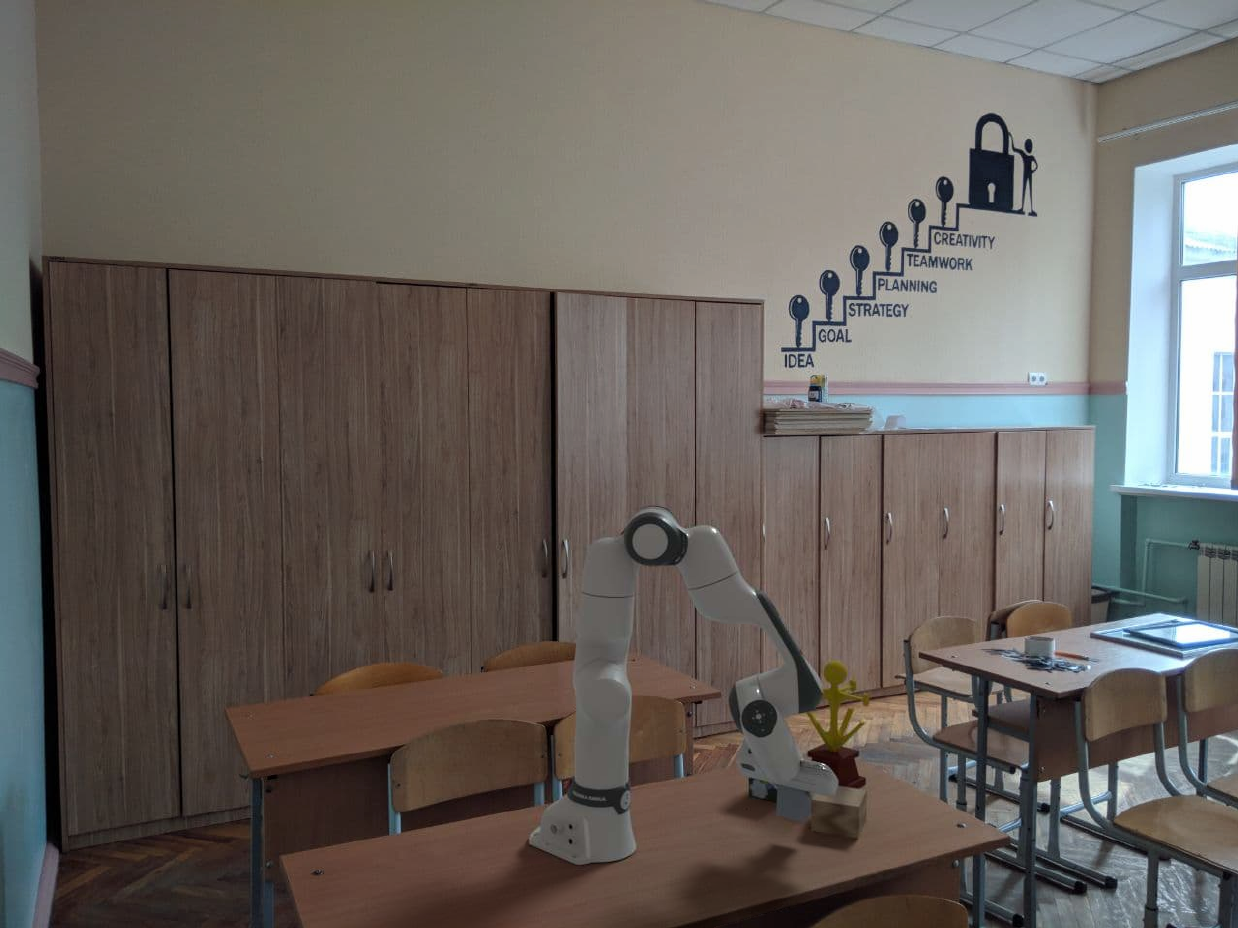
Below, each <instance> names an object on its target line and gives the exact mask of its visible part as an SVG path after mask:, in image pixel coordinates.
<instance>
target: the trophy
mask: <svg viewBox="0 0 1238 928" xmlns="http://www.w3.org/2000/svg"><path fill="white" fill-rule="evenodd" d="M823 677H824V679H825V681H826V682H827V683H829V684H830V687H828V688H825V687H823V693H824V695H823V698H822V700H826V701H827V702H828V705H829V706H828V707H829V713H830V715H829V716H830V717H829V718H830V719H829V721H830V722H829V730H828V731H827V730H825V729H824V728H823V727H822V725H821V724H820V723H819V721H818V720H817V718H816V717H815V715H814V714H813V711H810V712H805V714H806V715H807V717H808V718H809V721H811V724H812V725H813V726H814V728H815V730H816V731H817V734H819V736H820V738H821V739H822V741H823V744H821V745H819V746H816V747H813V748H812V749H810V750H807V751H806V753H807V755H806V756H807V757H808V758H811V760H810V761H814V762H819V763H822V764H825V765H827V766H828V767H829V768H830V769H831V770H832V771H833V773H834V774H835V776H836V777H837V779H838V786H843V787H850V788H856V789H861V788H862V787H864V786H866V785H867V777H865V776H862V775H859V770H858V767H857V763H856V758H858V757H860V751H859V750H856V749H852V748H848V747H846V746H844V745H846V743H847V742H848V741H849V740H850V739H851V738H852V737H853V736H854V735H855V734H856V733H857V732H858V731H859V730H860V729H861V728H862V727H863V726H864V725H865V724H866V723H867V722H866V721H861V722H859V723H858V724H857V725H856V726H855V727H854V728H852V730H851V731H849V732H848V733H846V731H847V728H848V725H849V723H850V720H851V717H852V716H853V713H854V711H855V708H854V707H848V708H847V710H846V713H845V716H844V718H843V720H842V722H841V724H840V727H839V726H838V725H839V724H838V723H839V721H838V719H839V715H838V714H839V710H840V707H841V705H842V703H843V702H844V701H845V700H851V699H852V700H857V701H861V702H862V706H864V707H869V705H870V694H869V693H863V695H862V696H857V695H853V694H850V693H848V692H846V691H848V690H849V691H850V692H856V691H857V680H856V679H851V680H849V684H848V685H846V686H843V687H840V688H839V685H842V684H844V682H845V681H846V680H847V678H848V669H847V667H846V665H845V664H844V663H843V662H841V661H839V660H831V661H829V662H827V664H826V665H825V666H824V669H823ZM838 727H839V728H838Z"/></svg>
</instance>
